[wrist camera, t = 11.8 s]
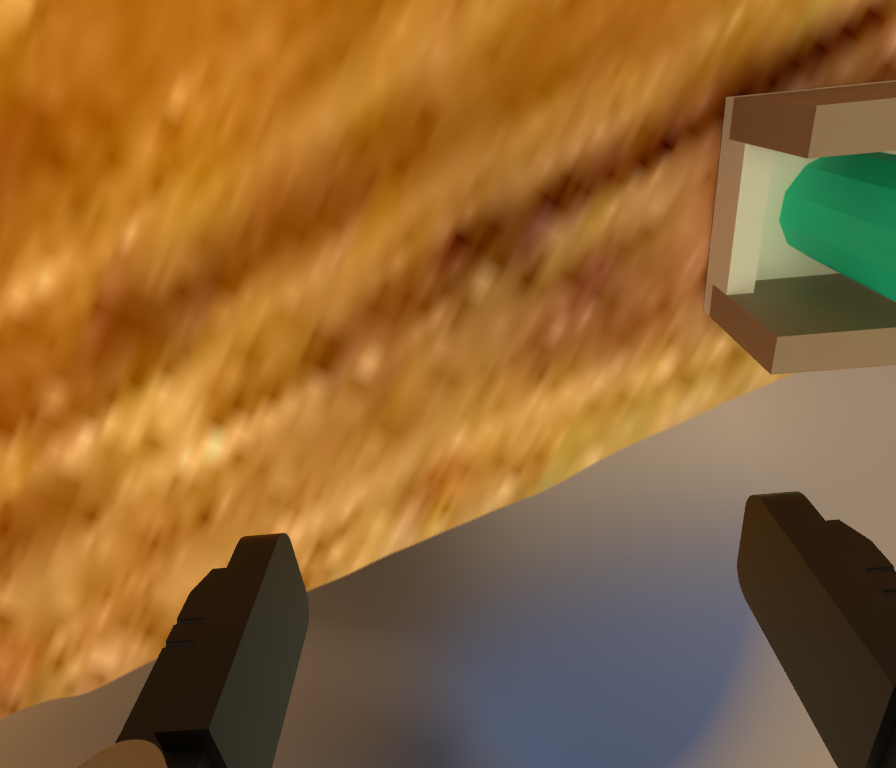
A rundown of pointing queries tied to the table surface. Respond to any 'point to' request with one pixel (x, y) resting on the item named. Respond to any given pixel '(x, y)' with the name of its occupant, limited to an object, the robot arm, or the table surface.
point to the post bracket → (763, 242)
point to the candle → (846, 217)
